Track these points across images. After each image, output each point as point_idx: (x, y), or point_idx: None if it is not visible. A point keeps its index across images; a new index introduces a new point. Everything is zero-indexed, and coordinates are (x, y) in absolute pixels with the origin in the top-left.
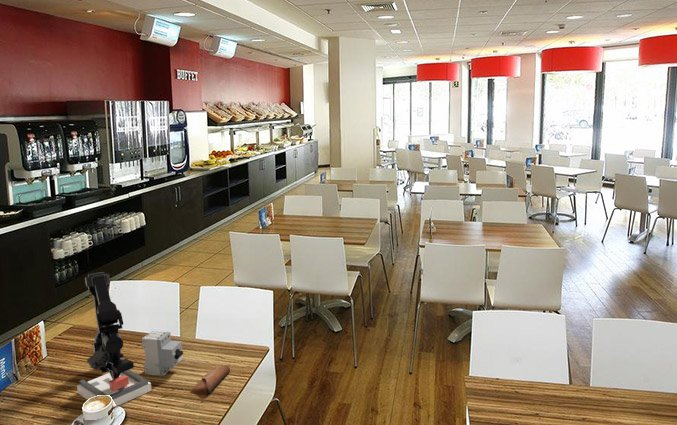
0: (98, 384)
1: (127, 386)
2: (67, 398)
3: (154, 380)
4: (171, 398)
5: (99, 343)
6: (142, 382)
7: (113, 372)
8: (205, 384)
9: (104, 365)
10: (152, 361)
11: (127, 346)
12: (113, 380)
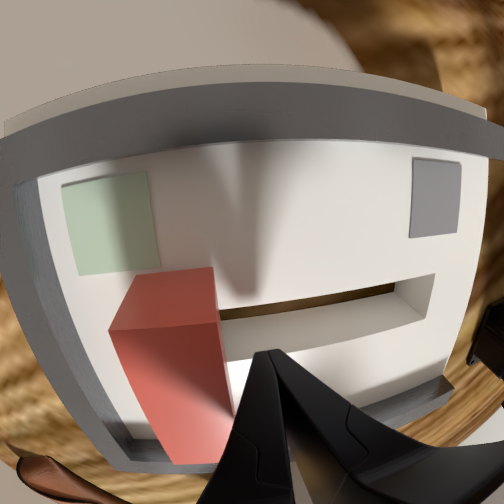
0: (410, 221)
1: None
2: (430, 43)
3: None
4: (27, 419)
5: None
6: (103, 452)
7: (203, 492)
8: (36, 485)
9: (489, 492)
10: None
11: (495, 390)
12: (194, 371)
